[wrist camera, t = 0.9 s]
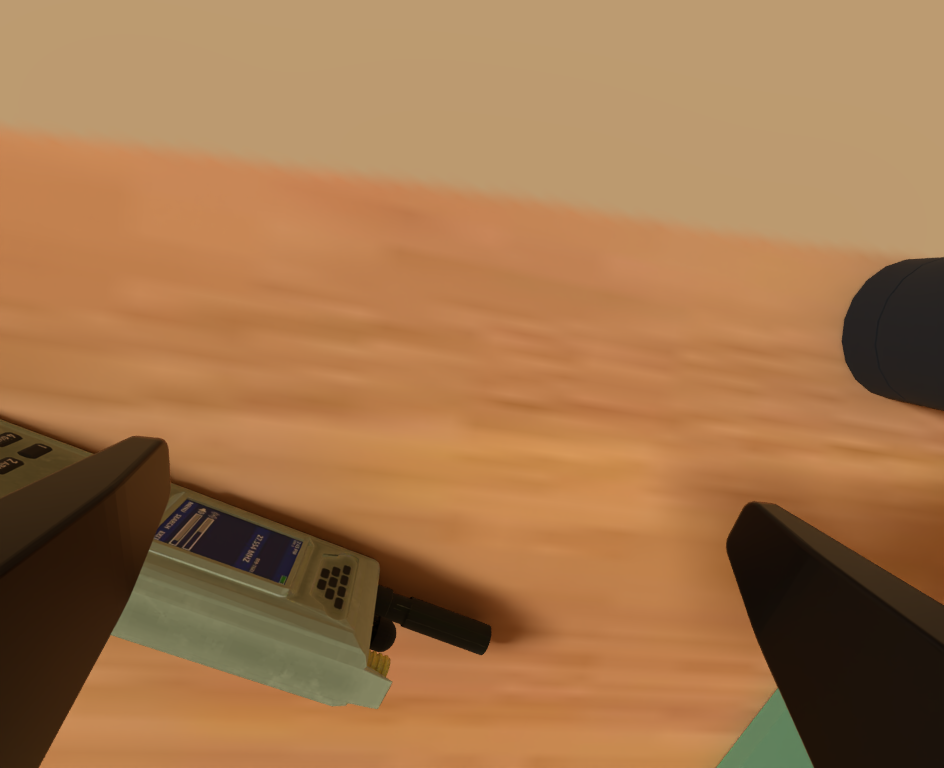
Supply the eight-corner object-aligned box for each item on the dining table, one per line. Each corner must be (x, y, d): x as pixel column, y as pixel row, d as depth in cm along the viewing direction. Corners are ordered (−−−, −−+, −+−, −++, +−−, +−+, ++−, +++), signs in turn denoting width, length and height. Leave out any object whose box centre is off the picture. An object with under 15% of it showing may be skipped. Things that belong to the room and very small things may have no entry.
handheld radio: (-71, 376, 22) (500, 591, 26) (-94, 450, 22) (470, 650, 26) (-279, 421, 15) (527, 699, 19) (-306, 524, 16) (486, 774, 20)
